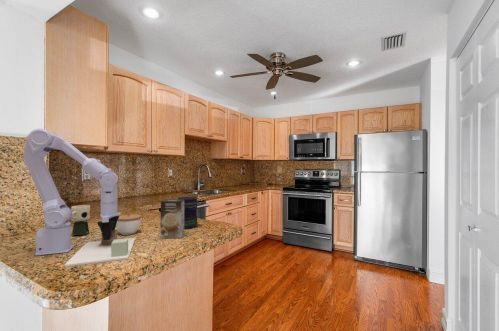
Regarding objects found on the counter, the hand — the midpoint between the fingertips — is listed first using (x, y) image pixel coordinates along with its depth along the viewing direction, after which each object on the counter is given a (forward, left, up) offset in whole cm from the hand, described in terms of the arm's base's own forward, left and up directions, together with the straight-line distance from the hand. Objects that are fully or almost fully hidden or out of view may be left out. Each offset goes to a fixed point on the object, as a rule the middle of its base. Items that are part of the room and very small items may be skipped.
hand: (109, 237), depth 93 cm
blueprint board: (0, -8, -3) cm, 8 cm away
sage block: (+6, -15, -2) cm, 16 cm away
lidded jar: (+5, +16, -3) cm, 17 cm away
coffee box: (+24, +3, -3) cm, 24 cm away
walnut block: (0, 0, -2) cm, 2 cm away
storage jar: (+32, +18, -3) cm, 37 cm away
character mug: (-15, +21, -3) cm, 26 cm away
